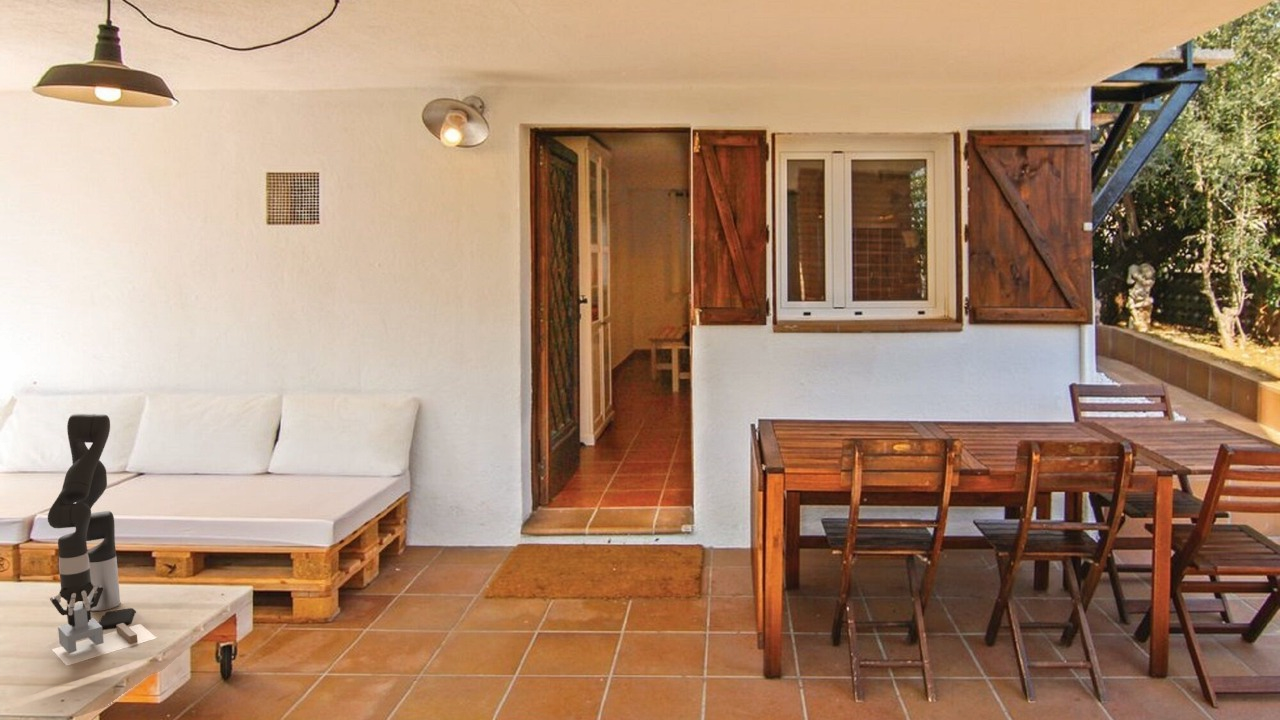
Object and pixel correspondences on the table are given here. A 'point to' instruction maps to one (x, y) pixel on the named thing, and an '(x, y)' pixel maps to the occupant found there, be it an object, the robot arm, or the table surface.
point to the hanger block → (80, 630)
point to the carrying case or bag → (117, 618)
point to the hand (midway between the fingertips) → (79, 623)
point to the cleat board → (106, 643)
